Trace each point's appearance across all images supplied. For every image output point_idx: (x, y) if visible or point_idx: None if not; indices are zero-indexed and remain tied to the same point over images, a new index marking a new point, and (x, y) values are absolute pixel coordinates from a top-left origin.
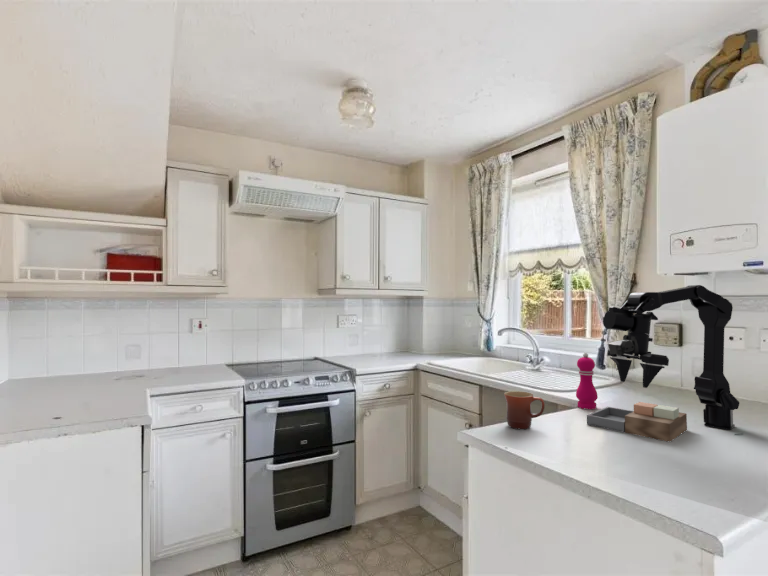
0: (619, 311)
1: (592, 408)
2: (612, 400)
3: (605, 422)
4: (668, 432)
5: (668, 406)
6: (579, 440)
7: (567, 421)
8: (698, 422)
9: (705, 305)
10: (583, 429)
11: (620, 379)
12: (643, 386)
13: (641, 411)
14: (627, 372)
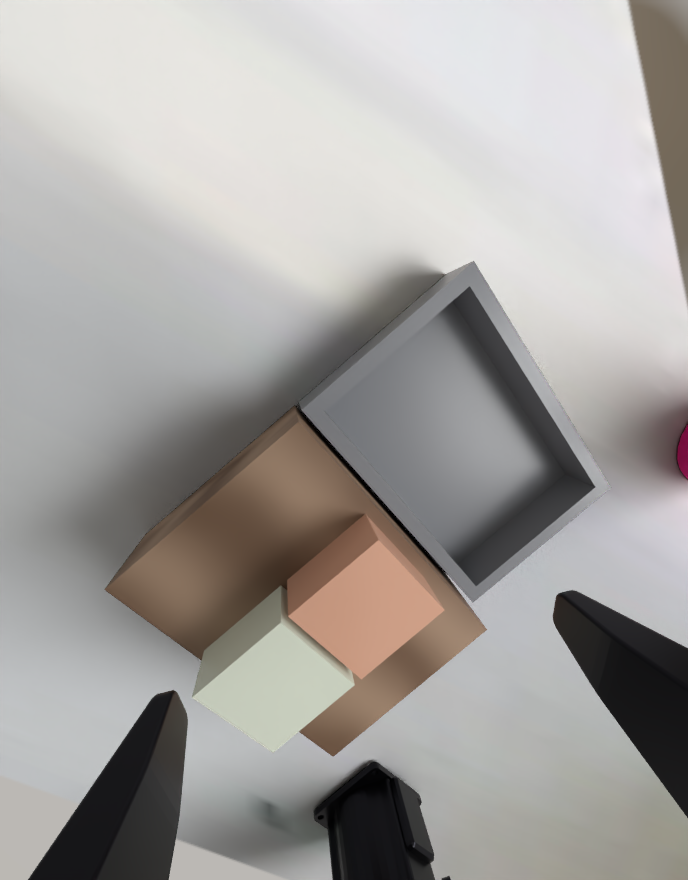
0: None
1: (680, 452)
2: None
3: (377, 340)
4: (131, 555)
5: (312, 717)
6: (136, 24)
7: (518, 189)
8: (421, 760)
9: None
10: (362, 198)
11: (594, 602)
12: (158, 701)
13: (334, 550)
14: (674, 788)
